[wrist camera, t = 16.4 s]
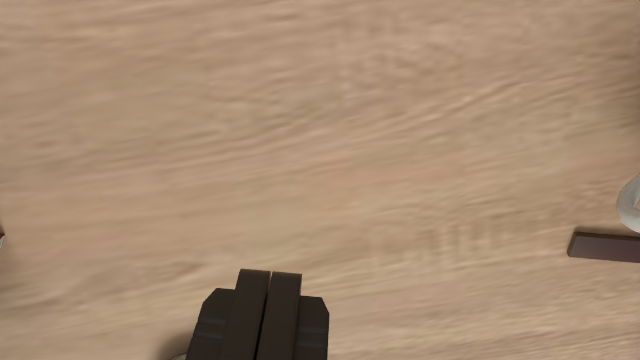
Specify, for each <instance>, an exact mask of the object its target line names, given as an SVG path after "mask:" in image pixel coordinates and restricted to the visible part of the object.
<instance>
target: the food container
mask: <svg viewBox="0 0 640 360" xmlns="http://www.w3.org/2000/svg"><path fill="white" fill-rule="evenodd" d="M4 236H5V234H2V233H0V248H1V245H2V242H3V239H4Z"/></svg>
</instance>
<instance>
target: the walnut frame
mask: <svg viewBox="0 0 640 360" xmlns="http://www.w3.org/2000/svg"><path fill="white" fill-rule="evenodd" d="M567 254H568V256H569V257H577V258H588V259H599V260H611V261H622V262H633V263H640V238H637V237H625V236H614V235H603V234H591V233H580V232H574V235H573V238H572V240H571V243H570V246H569V248H568V251H567Z"/></svg>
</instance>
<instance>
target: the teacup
mask: <svg viewBox="0 0 640 360" xmlns="http://www.w3.org/2000/svg"><path fill="white" fill-rule="evenodd" d="M639 199H640V174H638V175H637V176H636V177H634V178H633V179H632V180H631V181H630V182H628V183H627V184H626V186H625V187H624V188H623V189H622V190H621V191H620V193H619V196H618V198H617V206H616V207H617V211H618V215H619V217H620V219H621V221H622V222H623V223H624V224H625V225H626V226H627V227H628V228H630V229H631V230H633V231H635V232H639V233H640V210H638V209H636V208H635V207H634V206H635V204H636V203H637V201H638V200H639Z"/></svg>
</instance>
